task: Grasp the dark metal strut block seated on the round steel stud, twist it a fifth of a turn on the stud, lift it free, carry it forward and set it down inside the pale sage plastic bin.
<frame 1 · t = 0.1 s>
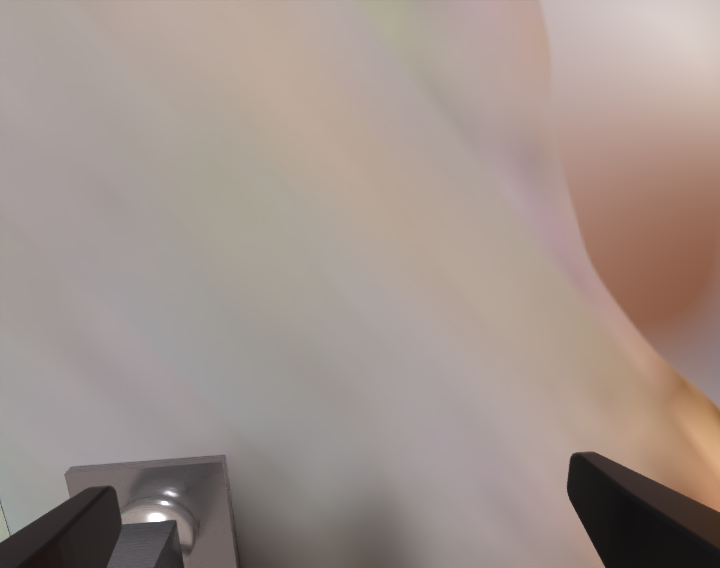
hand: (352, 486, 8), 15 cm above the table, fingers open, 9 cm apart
stud: (160, 522, 24), on the table
strut: (145, 551, 22), point 2 cm above the table, touching stud
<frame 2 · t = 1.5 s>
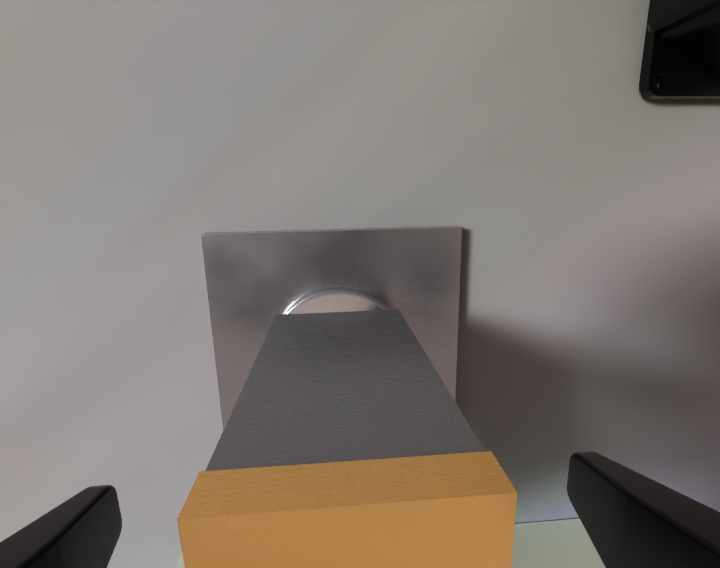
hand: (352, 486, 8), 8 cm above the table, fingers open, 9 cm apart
stud: (338, 346, 15), on the table
strut: (340, 368, 13), point 2 cm above the table, touching stud
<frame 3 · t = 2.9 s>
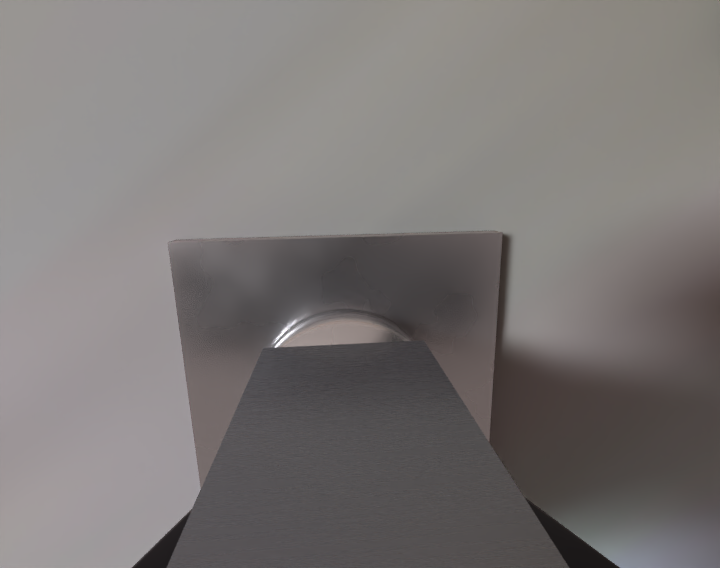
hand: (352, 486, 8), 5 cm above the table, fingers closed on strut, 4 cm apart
stud: (344, 380, 12), on the table
strut: (346, 416, 10), point 2 cm above the table, touching gripper, stud
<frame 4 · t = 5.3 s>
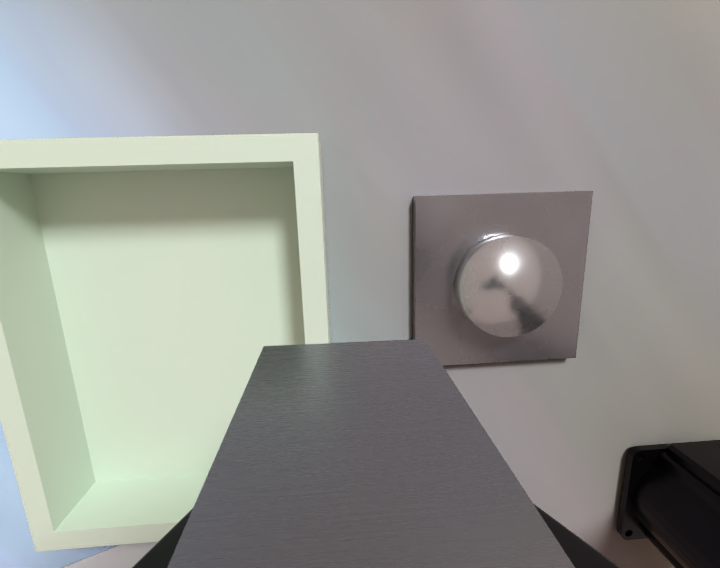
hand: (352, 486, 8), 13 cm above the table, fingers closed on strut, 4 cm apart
stud: (496, 279, 21), on the table
strut: (347, 414, 10), point 11 cm above the table, touching gripper
bin: (195, 330, 20), on the table
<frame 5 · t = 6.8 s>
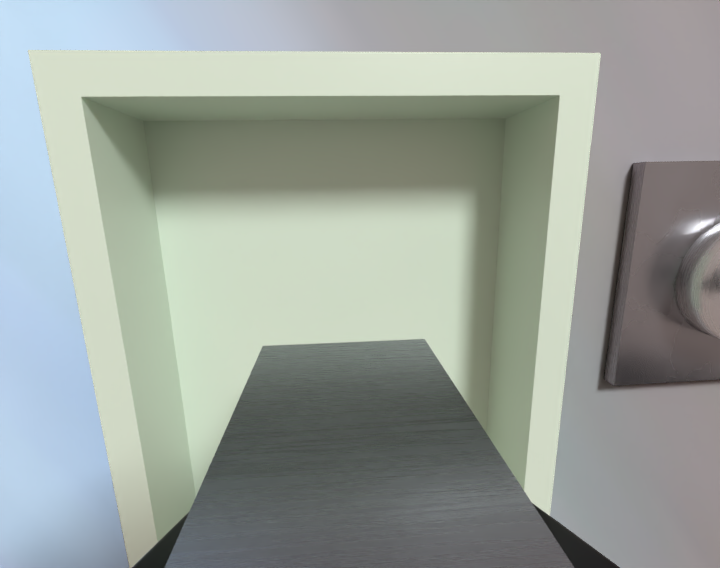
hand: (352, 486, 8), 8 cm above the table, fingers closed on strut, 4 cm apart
stud: (719, 274, 16), on the table
strut: (346, 414, 10), point 6 cm above the table, touching gripper
bin: (338, 337, 15), on the table
when the fingers open (5 cm above the table, at t = 8.1 s): strut drops 2 cm, resting on bin.
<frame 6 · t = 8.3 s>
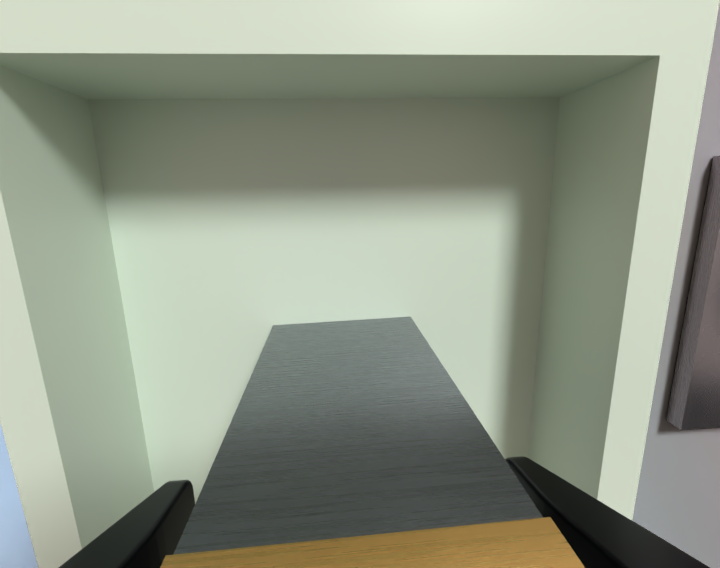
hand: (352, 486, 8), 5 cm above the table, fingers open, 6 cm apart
strut: (346, 383, 12), point 1 cm above the table, touching bin
bin: (342, 372, 12), on the table
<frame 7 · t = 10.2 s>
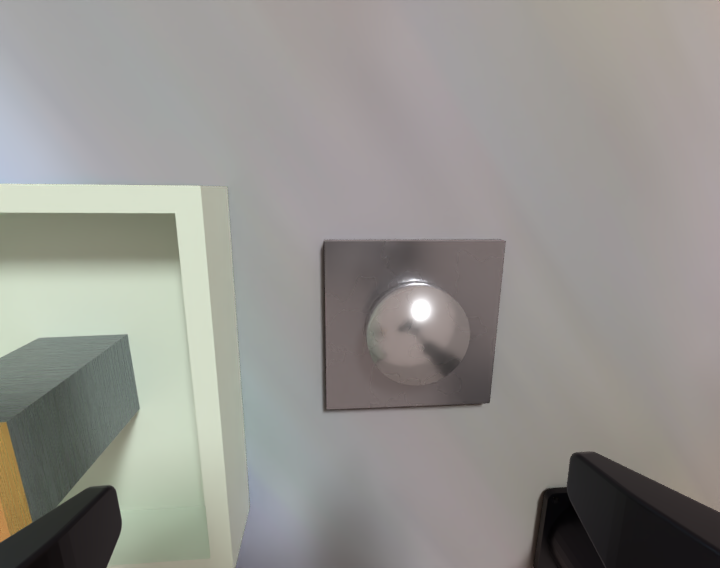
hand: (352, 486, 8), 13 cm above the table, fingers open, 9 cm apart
stud: (410, 324, 20), on the table
strut: (91, 374, 19), point 1 cm above the table, touching bin
bin: (98, 367, 20), on the table
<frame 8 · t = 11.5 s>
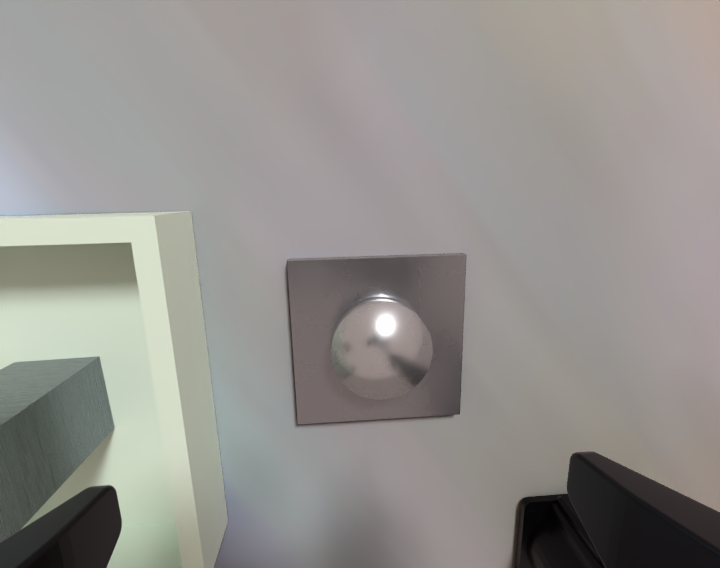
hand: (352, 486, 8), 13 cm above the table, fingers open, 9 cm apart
stud: (377, 338, 21), on the table
strut: (66, 396, 19), point 1 cm above the table, touching bin
bin: (75, 388, 20), on the table
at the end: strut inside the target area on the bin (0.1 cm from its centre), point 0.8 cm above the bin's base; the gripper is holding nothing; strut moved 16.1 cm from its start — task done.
